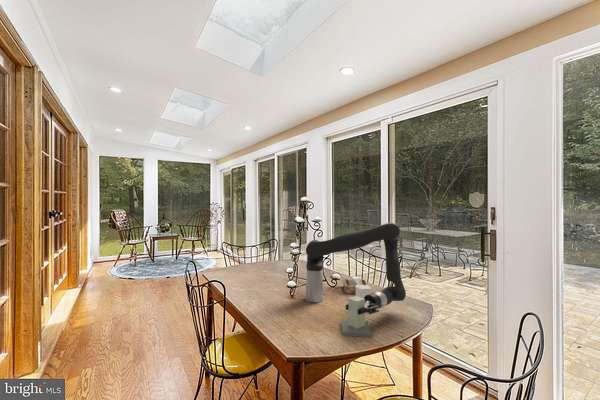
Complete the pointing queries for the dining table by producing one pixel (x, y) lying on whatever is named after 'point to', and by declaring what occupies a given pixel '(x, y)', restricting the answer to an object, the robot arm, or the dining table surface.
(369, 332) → the coaster
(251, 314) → the dining table surface
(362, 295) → the white cup
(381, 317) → the dining table surface
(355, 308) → the block
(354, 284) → the die
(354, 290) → the die frame
